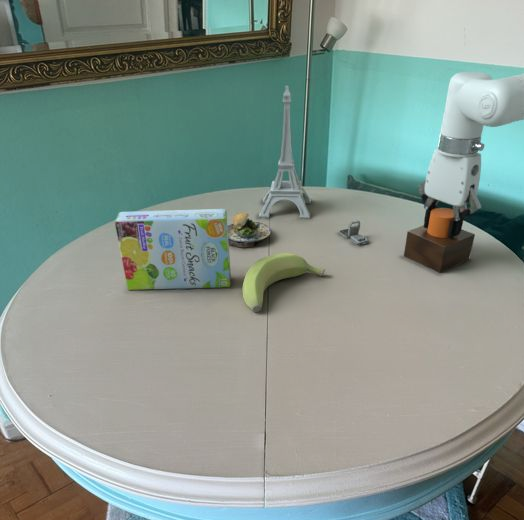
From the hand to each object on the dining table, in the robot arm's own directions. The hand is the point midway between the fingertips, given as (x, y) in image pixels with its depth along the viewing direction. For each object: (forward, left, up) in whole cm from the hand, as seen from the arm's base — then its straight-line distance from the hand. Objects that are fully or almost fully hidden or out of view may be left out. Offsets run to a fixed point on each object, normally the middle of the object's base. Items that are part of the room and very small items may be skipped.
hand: (441, 230), depth 112 cm
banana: (+10, +35, -7) cm, 37 cm away
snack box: (+25, +51, -7) cm, 57 cm away
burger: (+35, +27, -7) cm, 45 cm away
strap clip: (+19, +7, -7) cm, 21 cm away
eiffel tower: (+44, +8, -7) cm, 45 cm away
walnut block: (0, 0, -7) cm, 7 cm away
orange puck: (0, 0, -1) cm, 1 cm away
